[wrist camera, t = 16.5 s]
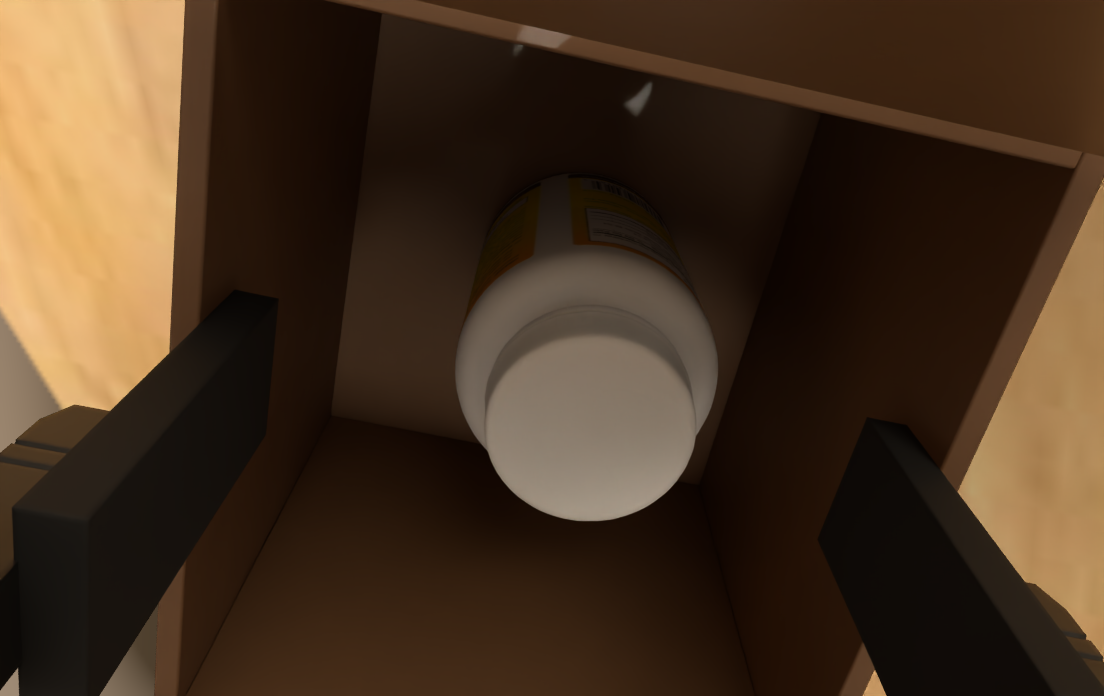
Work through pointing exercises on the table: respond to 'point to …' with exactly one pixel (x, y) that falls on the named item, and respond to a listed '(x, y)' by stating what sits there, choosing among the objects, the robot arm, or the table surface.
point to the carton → (439, 311)
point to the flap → (874, 52)
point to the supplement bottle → (584, 350)
